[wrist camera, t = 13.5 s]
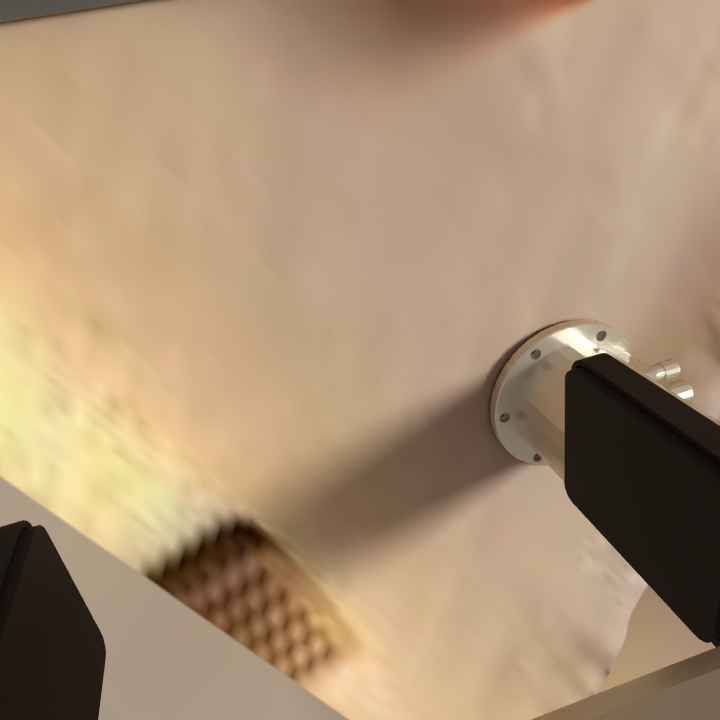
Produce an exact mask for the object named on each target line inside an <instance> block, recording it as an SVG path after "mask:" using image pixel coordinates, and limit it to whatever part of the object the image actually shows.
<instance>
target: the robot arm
mask: <svg viewBox="0 0 720 720" xmlns="http://www.w3.org/2000/svg"><path fill="white" fill-rule="evenodd" d="M679 374H680V366H679V364H678V362H676V361H675V360H673V359H670V360H667V361H663V362H660V363H657V364H655V365H653V366H648V365H646V364H644V363H643V362H641V361H639V360H638V359H636V357H635V354H634V351H633V349H632V347H631V346H630V344H629V342H628V341H627V340H626V339H625V338H624V337H623V336H622V335H621V334H620V333H619V332H617V331H615V330H614V329H612V328H610V327H609V326H607V325H604V324H602V323H599V322H597V321H590V320H573V321H567V322H563V323H560V324H556V325H553V326H551V327H549V328H547V329H545V330H543V331H541V332H539V333H538V334H536V335H535V336H533V337H532V338H531V339H529V340H528V341H527V342H525V343H524V344H523V345H522V346H521V347H520V348H519V349H518V350H517V351H516V352H515V353H514V354H513V356H512V357H511V358H510V359H509V361H508V362H507V363H506V364H505V366H504V368H503V370H502V371H501V373H500V375H499V377H498V379H497V381H496V384H495V387H494V389H493V393H492V398H491V404H490V419H491V423H492V427H493V431H494V433H495V435H496V437H497V439H498V440H499V441H500V443H501V444H502V445H503V446H504V448H505V449H506V450H507V451H508V452H509V453H511V454H512V455H513V456H514V457H515V458H517V459H519V460H521V461H523V462H526V463H529V464H533V465H549V466H550V467H551V468H552V469H553V471H554V472H555V473H556V474H557V475H558V476H559V477H560V478H561V479H562V480H563V481H564V483H565V489H566V492H567V494H568V496H569V498H570V500H571V501H572V502H573V504H574V505H575V506H576V507H577V508H578V509H579V510H580V511H581V512H582V513H583V514H584V516H585V517H586V518H587V519H588V520H589V521H590V522H591V523H592V524H593V525H594V526H595V527H596V529H597V530H598V531H599V532H600V533H601V534H602V535H603V536H604V537H605V538H606V539H607V540H608V542H609V543H610V544H611V545H612V546H613V547H614V548H615V549H616V550H617V551H618V552H619V553H620V554H621V556H622V557H623V558H624V559H625V560H626V561H627V562H628V563H629V564H630V565H631V566H632V567H633V569H634V570H635V571H636V572H637V573H638V574H639V575H640V576H641V577H642V578H643V579H644V580H645V582H646V583H647V584H648V585H649V586H650V587H651V588H652V589H653V590H654V591H655V592H656V593H657V594H658V596H659V597H660V598H661V599H662V600H663V601H664V602H665V603H666V604H667V605H668V606H669V607H670V608H671V610H672V611H673V612H674V613H675V614H676V615H677V616H678V617H679V618H680V619H681V620H682V622H683V623H684V624H685V625H686V626H687V627H688V628H689V629H690V630H691V631H692V632H693V633H694V635H696V636H697V637H698V638H699V639H700V640H702V641H703V642H707V643H709V642H712V643H713V645H714V646H715V647H716V648H714V649H711V650H708V651H706V652H703V653H701V654H698V655H696V656H693V657H691V658H688V659H685V660H683V661H680V662H678V663H675V664H673V665H670V666H667V667H665V668H662V669H660V670H657V671H655V672H652V673H649V674H647V675H644V676H642V677H639V678H637V679H634V680H632V681H629V682H627V683H624V684H621V685H619V686H616V687H614V688H611V689H609V690H606V691H604V692H601V693H598V694H596V695H593V696H590V697H588V698H585V699H583V700H580V701H578V702H575V703H573V704H570V705H567V706H565V707H562V708H560V709H557V710H555V711H552V712H550V713H547V714H545V715H542V716H540V717H537V718H534V719H532V720H720V422H719V421H718V420H716V419H714V418H713V417H711V416H710V415H708V414H707V413H705V412H704V411H702V410H700V409H699V408H697V407H696V406H694V405H693V404H691V403H689V402H690V401H691V400H692V399H693V391H692V388H691V386H690V385H689V384H688V383H687V382H686V381H685V380H678V381H674V382H671V383H668V384H664V385H661V384H660V383H658V382H657V381H659V380H665V379H669V378H672V377H675V376H678V375H679ZM105 658H106V651H105V643H104V639H103V636H102V635H101V632H100V630H99V628H98V626H97V624H96V623H95V621H94V619H93V617H92V615H91V613H90V611H89V610H88V608H87V606H86V604H85V602H84V600H83V598H82V597H81V595H80V593H79V591H78V589H77V587H76V585H75V583H74V582H73V580H72V578H71V576H70V574H69V572H68V570H67V568H66V566H65V565H64V563H63V561H62V559H61V557H60V555H59V553H58V552H57V550H56V548H55V546H54V544H53V542H52V540H51V539H50V537H49V535H48V533H47V531H46V530H45V528H44V527H43V526H40V525H38V526H34V527H33V526H31V524H30V523H29V522H28V521H24V520H23V521H19V522H16V523H13V524H9V525H5V526H2V527H0V720H98V716H99V707H100V700H101V691H102V682H103V674H104V667H105Z"/></svg>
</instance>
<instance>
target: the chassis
mask: <svg viewBox="0 0 720 720" xmlns="http://www.w3.org/2000/svg"><path fill="white" fill-rule="evenodd" d="M140 1H146V0H0V23H4V22H10V21H17V20H23V19H30V18H36V17H43V16H49V15H56V14H62V13H68V12H75V11H81V10H88V9H94V8H101V7H107V6H114V5H120V4H127V3H133V2H140Z"/></svg>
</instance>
